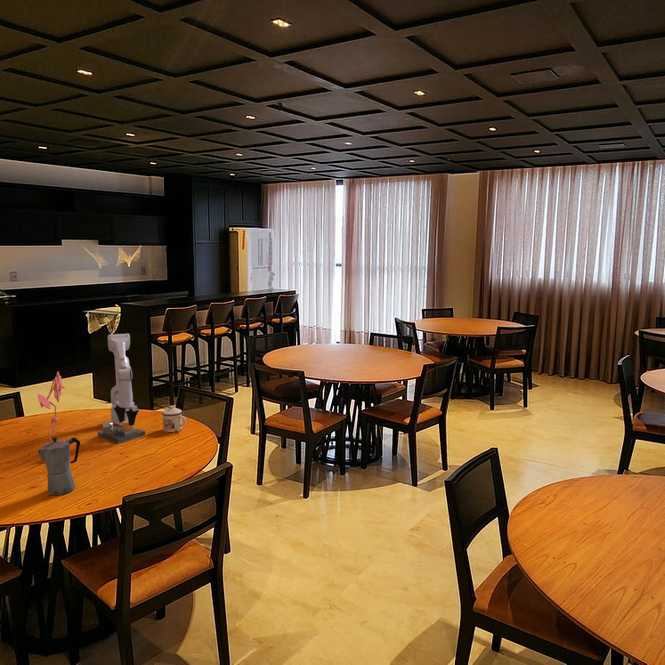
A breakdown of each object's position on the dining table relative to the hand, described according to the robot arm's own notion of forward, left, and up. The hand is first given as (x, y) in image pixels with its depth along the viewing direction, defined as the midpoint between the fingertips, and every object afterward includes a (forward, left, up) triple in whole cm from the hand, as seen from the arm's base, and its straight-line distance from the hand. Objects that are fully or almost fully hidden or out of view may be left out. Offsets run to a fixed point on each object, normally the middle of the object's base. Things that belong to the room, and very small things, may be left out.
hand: (126, 423), depth 266 cm
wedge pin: (0, 0, -6) cm, 6 cm away
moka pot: (+32, -48, -6) cm, 58 cm away
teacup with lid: (+10, +19, -6) cm, 22 cm away
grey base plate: (-3, -1, -6) cm, 7 cm away
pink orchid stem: (-2, -29, -6) cm, 30 cm away
